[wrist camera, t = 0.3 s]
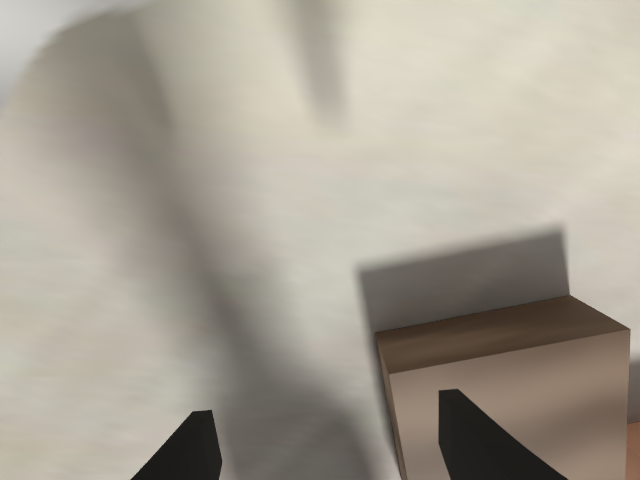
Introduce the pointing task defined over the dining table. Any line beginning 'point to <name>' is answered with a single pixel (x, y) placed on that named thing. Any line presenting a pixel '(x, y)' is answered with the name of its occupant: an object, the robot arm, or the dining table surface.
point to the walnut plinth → (515, 384)
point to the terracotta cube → (633, 452)
